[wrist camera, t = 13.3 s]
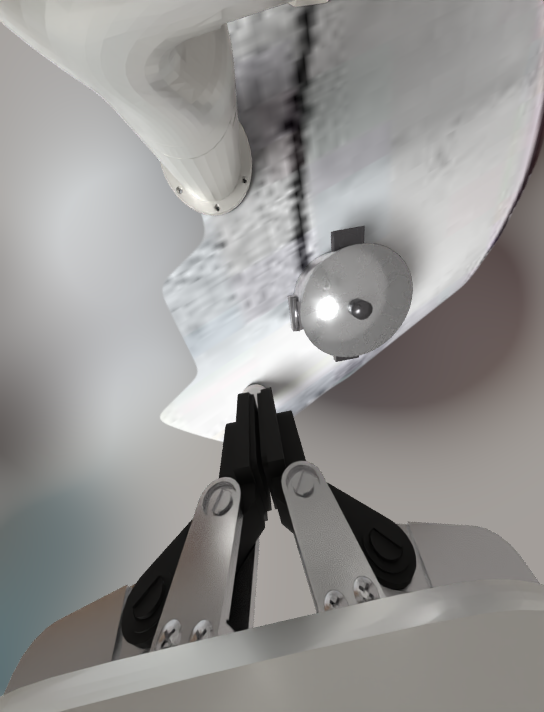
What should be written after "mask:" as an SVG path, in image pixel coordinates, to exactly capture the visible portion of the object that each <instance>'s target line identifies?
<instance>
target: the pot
mask: <svg viewBox="0 0 544 712" xmlns="http://www.w3.org/2000/svg"><path fill="white" fill-rule="evenodd" d="M355 244H364V226H361V227H355V228H349V229H344V230H338V231H333V232H331V252H329V253H326V254H323V255H321V256H319V257H317V258H316V259H314V260H313V261H312V262H310V263H309V264H308V265H307V266H306V267H305V269H304V270H303V271H302V273H301V274H300V276H299V278H298V280H297V283H296V285H295V289H294V295H289V296H288V302H289V311H290V319H291V328H292V330H293V331H296V327H295V318H294V309H293V300H292V298H297V301H299V300H300V299H301V295H302V292H303V289H304V286H305V284H306V282H307V280H308V278H309V276H310V275H311V273H312V272H313V271H314V269H315V268H316V267H317V266H318V265H319V264H320V263H321V262H322V261H323V260H324V259H325V258H327V257H328V256H329V255H331V254H332V253H334V252H335V251H337V250H339V249H342V248H344V247H347V246H351V245H355ZM358 357H359V356H354V357H338V356H334V360H335V361H336V362H338V361H343V360H348V359H353V358H358Z"/></svg>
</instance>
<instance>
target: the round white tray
mask: <svg viewBox="0 0 544 712" xmlns="http://www.w3.org/2000/svg"><path fill="white" fill-rule="evenodd" d="M328 1H329V0H295V1H292V2H289V3H288V4H290V5H292V6H294V7H300V6H307V5H314V4H321V3H327V2H328Z"/></svg>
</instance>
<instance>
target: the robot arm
mask: <svg viewBox="0 0 544 712" xmlns="http://www.w3.org/2000/svg"><path fill="white" fill-rule="evenodd" d="M292 1H295V0H0V22H1V23H3V24H4V25H5V26H6V27H7V28H8V29H10V30H11V31H12V32H13V33H14V34H16V35H17V36H18V37H19V38H20V39H22V40H23V41H24V42H25V43H27V44H28V45H29V46H31V47H32V48H33V49H35V50H36V51H38V52H39V53H40V54H41V55H43V56H44V57H45V58H47V59H48V60H49V61H51V62H52V63H54V64H55V65H56V66H58V67H59V68H60V69H62V70H63V71H65V72H66V73H68V74H69V75H71V76H72V77H74V78H75V79H76V80H78V81H79V82H81V83H82V84H84V85H85V86H87V87H88V88H90V89H91V90H93V91H94V92H95V93H97V94H98V95H99V96H100V97H101V98H103V99H104V100H105V101H106V102H107V103H108V104H109V105H110V106H111V107H112V108H113V109H114V110H115V111H116V112H117V113H118V114H119V116H120V117H121V118H122V119H123V120H124V121H125V122H126V123H127V124H128V125H129V126H130V128H131V129H132V130H133V131H134V132H135V133H136V134H137V136H138V137H139V138H140V139H141V140H142V141H143V142H144V144H145V145H146V146H147V147H148V148H149V149H150V150H151V151H152V152H153V153H154V154H155V156H156V157H157V158H158V159H159V160H160V163H161V167H162V170H163V173H164V175H165V178H166V180H167V182H168V184H169V185H170V187H171V189H172V190H173V191H174V193H175V194H176V195H177V197H178V198H179V199H180V200H181V201H182V202H184V203H185V204H186V205H187V206H188V207H190V208H191V209H193V210H195V211H197V212H199V213H202V214H205V215H211V216H216V215H223V214H225V213H228V212H230V211H232V210H233V209H235V208H236V207H237V206H238V205H239V204H240V203H241V201H242V200H243V198H244V197H245V195H246V193H247V191H248V188H249V185H250V181H251V174H252V156H251V150H250V145H249V142H248V138H247V135H246V133H245V131H244V129H243V127H242V125H241V123H240V122H239V120H238V113H237V98H236V85H235V69H234V58H233V50H232V45H231V39H230V35H229V31H228V26H227V23H229V22H232V21H235V20H238V19H241V18H244V17H247V16H250V15H253V14H256V13H259V12H262V11H265V10H268V9H271V8H274V7H277V6H280V5H283V4H286V3H289V2H292ZM243 180H246V183H243ZM180 190H182V193H181V194H180V192H179V191H180ZM217 207H219V208H220V210H219V211H217V210H216V208H217ZM260 391H261V392H260V393H257V404H258V408H257V404H256V400H255V397H254V394H251V395H250V393H249V392H246V393H241V394H238V400H237V414H236V422H233V423H228V424H226V427H225V434H224V442H223V450H222V458H221V466H220V473H219V478H218V479H217V480H215V481H213V482H212V483H210V484H209V485H208V486H207V487H206V488H205V490H204V491H203V492H202V495H201V496H200V499H199V501H198V504H197V508H196V510H195V514H194V517H193V519H192V520H191V522H189V524H188V525H187V526H186V527H185V528H184V529H183V530H182V531H181V533H180V534H179V535H178V536H177V537H176V538H175V539H174V540H173V541H172V543H171V544H170V545H169V546H168V547H167V548H166V549H165V550H164V552H163V553H162V554H161V555H160V556H159V557H158V558H157V559H156V560H155V562H154V563H153V564H152V565H151V566H150V567H149V568H148V569H147V571H146V572H145V573H144V574H143V575H142V576H141V577H140V579H139V580H138V581H137V583H136V584H134V585H132V586H130V587H129V586H128V585H126V586H123V587H121V588H119V589H117V590H116V591H113V592H112V593H110V594H108V595H106V596H104V597H102V598H100V599H98V600H96V601H94V602H92V603H90V604H88V605H86V606H84V607H83V608H81V609H79V610H77V611H75V612H73V613H71V614H69V615H67V616H65V617H63V618H61V619H59V620H58V621H56V622H54V623H53V624H51V625H50V626H49V627H47V628H46V629H45V630H44V631H43V632H42V633H41V634H40V635H39V636H38V637H37V638H36V639H35V640H34V641H33V642H32V644H31V645H30V646H29V648H28V649H27V651H26V652H25V654H24V655H23V656H22V658H21V659H20V661H19V663H18V665H17V667H16V669H15V671H14V672H13V674H12V677H11V679H10V681H9V683H8V686H7V688H6V690H5V693H4V695H3V696H1V697H0V712H544V585H542V584H540V583H539V582H538V580H537V579H536V577H535V576H534V575H533V573H532V572H531V570H530V569H529V568H528V566H527V565H526V563H525V562H524V560H523V559H522V558H521V556H520V555H519V554H518V553H517V552H516V550H515V549H514V548H513V547H512V546H511V545H510V544H509V543H508V542H507V541H505V540H504V539H503V538H502V537H500V536H499V535H497V534H496V533H494V532H492V531H490V530H488V529H486V528H481V527H478V526H468V525H452V524H437V523H421V522H408V523H407V524H395V523H394V522H393V521H391V520H390V519H388V518H386V517H385V516H383V515H381V514H380V513H378V512H376V511H375V510H373V509H371V508H369V507H368V506H366V505H364V504H363V503H361V502H359V501H358V500H356V499H354V498H353V497H351V496H349V495H348V494H346V493H344V492H342V491H341V490H339V489H337V488H336V487H334V486H332V485H331V484H329V483H327V482H326V480H325V478H324V476H323V474H322V472H321V471H320V470H319V468H318V467H317V466H315V465H314V464H313V463H310V462H308V461H306V460H305V456H304V452H303V449H302V445H301V442H300V438H299V435H298V432H297V428H296V425H295V421H294V418H293V414H292V411H286V412H281V413H277V414H276V409H275V404H274V399H273V395H272V390H271V387H270V388H266V389H261V390H260ZM270 493H271V496H272V499H273V502H274V506H275V509H278V512H279V516H280V519H281V523H282V524H283V525H284V526H285V527H286V528H288V529H289V530H290V531H291V532H292V533H293V534H294V538H295V541H296V544H297V548H298V551H299V554H300V558H301V561H302V565H303V568H304V572H305V575H306V578H307V582H308V585H309V588H310V592H311V595H312V599H313V602H314V605H315V609H316V612H317V613H316V614H312V615H308V616H303V617H299V618H294V619H290V620H286V621H281V622H277V623H273V624H269V625H265V626H260V627H256V628H253V623H254V609H255V595H256V581H257V567H258V554H259V536H260V535H261V533H262V531H263V530H264V528H265V521H267V520H268V518H267V511H270V510H271V497H270Z"/></svg>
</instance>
